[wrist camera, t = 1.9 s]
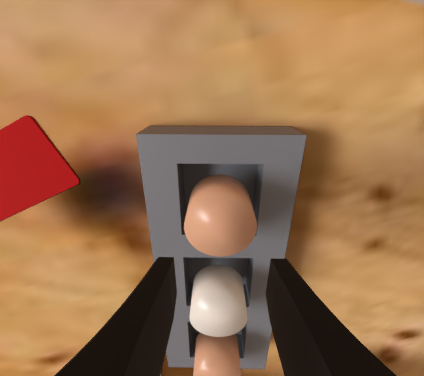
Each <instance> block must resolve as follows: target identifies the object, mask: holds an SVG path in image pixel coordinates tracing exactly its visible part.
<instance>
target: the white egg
mask: <svg viewBox="0 0 424 376" xmlns="http://www.w3.org/2000/svg"><path fill="white" fill-rule="evenodd" d="M190 322H191V324H192V326H193V327H194V328H195V329H196V330H197V331H199V332H200V333H202V334H205V335H208V336H213V337H225V336H230V335H233V334H235V333H237V332H239V331H240V330H242V329H243V328H244V326H245V325H246V323H247V309H246V302H245V294H244V287H243V280H242V277H241V275H240V274H239V273H238V272H237V271H236V270H235V269H233V268H231V267H228V266H225V265H211V266H208V267H205V268H203V269H202V270H200V271H199V272H198V273H197V274H196V276H195V278H194V282H193V290H192V299H191V308H190Z"/></svg>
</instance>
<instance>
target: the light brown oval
mask: <svg viewBox="0 0 424 376" xmlns="http://www.w3.org/2000/svg"><path fill="white" fill-rule="evenodd" d="M256 230H257V222H256V218H255V214H254V211H253V207H252V204H251V201H250V197H249V194H248V191H247V189H246V187H245V186H244V185H243V184H242V183H241V182H240V181H239V180H237V179H236V178H234V177H231V176H228V175H221V174H219V175H211V176H208V177H206V178H204V179H202V180H201V181H200V182H198V183H197V184H196V185H195V187H194V188H193V190H192V192H191V195H190V200H189V204H188V208H187V213H186V217H185V222H184V231H185V235H186V237H187V239H188V241H189V242H190V244H191V245H192V246H193V247H194V248H196V249H197V250H198V251H200V252H202V253H204V254H207V255H211V256H218V257H223V256H230V255H234V254H236V253H239V252H241V251H242V250H244V249H245V248H246V247H248V246H249V244H250V243H251V242H252V241H253V239H254V237H255V234H256Z"/></svg>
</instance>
